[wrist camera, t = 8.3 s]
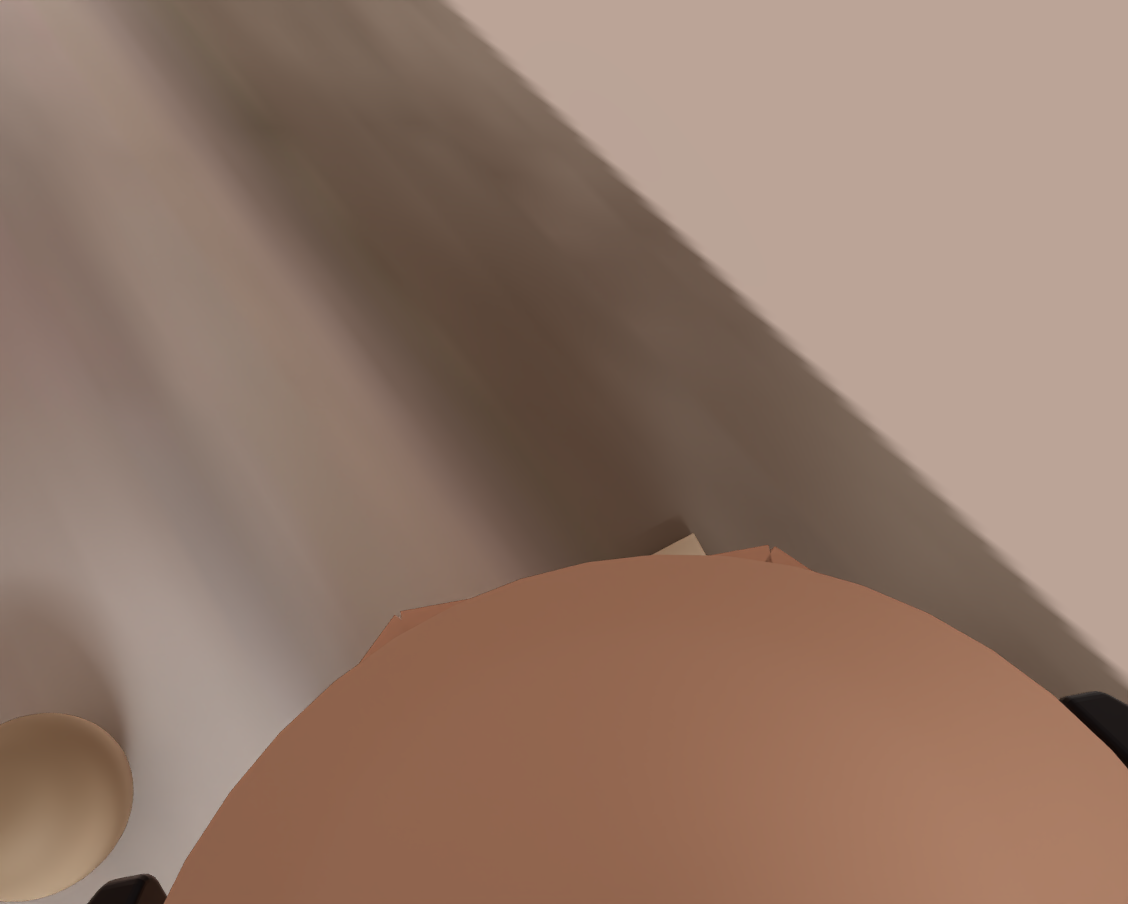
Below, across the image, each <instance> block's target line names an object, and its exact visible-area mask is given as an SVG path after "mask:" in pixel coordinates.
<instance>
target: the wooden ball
mask: <svg viewBox="0 0 1128 904" xmlns="http://www.w3.org/2000/svg"><path fill="white" fill-rule="evenodd" d="M132 802H133V779H132V772H131V769H130V765H129V762H128V760H127V758H126V755H125V753H124V752H123V750H122V749H121V747H120V745H119V744H118V743H117V742H116V741H115V739H114V738H113V737H112V736H111V735H109V734H108V733H107V732H106V731H105V730H104V729H102V728H101V727H99V726H98V725H96V724H94V723H92V722H90V721H88V720H85V719H83V718H80V717H76V716H73V715H68V714H59V713H40V714H34V715H28V716H23V717H19V718H16V719H13V720H10V721H8V722H5V723H3V724H1V725H0V901H5V902H12V901H29V900H35V899H39V898H43V897H46V896H49V895H53V894H55V893H58V892H60V891H62V890H64V889H66V888H68V887H70V886H72V885H74V884H75V883H77V882H79V881H80V880H82V879H83V878H84V877H86V876H87V875H88V874H90V873H91V872H92V871H93V870H94V869H96V868H97V867H98V866H99V865H100V864H101V863H102V862H103V861H104V860H105V859H106V857H107V856H108V855H109V854H110V852H111V851H112V850H113V848H114V847H115V845H116V844H117V842H118V840H119V839H120V837H121V836H122V833H123V831H124V829H125V827H126V825H127V822H128V819H129V816H130V812H131V808H132Z"/></svg>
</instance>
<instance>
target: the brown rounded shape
mask: <svg viewBox="0 0 1128 904" xmlns="http://www.w3.org/2000/svg"><path fill="white" fill-rule="evenodd" d="M400 612H401V617H398V616H396V615H394V616H393V618H392V619H391V621H390V622H389V623H388V625H387V626H386V627H385V629H384V630H383V631H382V633H381V634H380V636H379V637H378V638H377V640H376V641H375V642H374V644H373V645H372V646H371V648H370V649H369V651H368V652H367V653H366V655H365V656H364V657H363V659H362V660H361V661H360V663H359V664H358V665H357V666H355V667H354V668H352V669H351V670H350V671H348V672H347V673H346V674H344V675H343V676H341V677H340V678H339V679H337V680H336V681H335V682H333V683H332V684H331V685H330V686H329V687H328V688H327V689H326V690H325V691H324V692H323V693H322V694H321V695H320V696H319V697H317V698H316V699H315V700H314V701H313V702H312V703H311V704H310V705H309V706H308V707H307V708H306V709H305V710H304V711H303V712H301V713H300V714H299V715H298V716H297V717H296V718H295V719H294V720H293V721H292V722H291V723H290V724H289V725H288V726H286V727H285V728H284V729H283V730H282V731H281V732H280V733H279V734H278V735H277V737H276V738H275V739H274V740H273V741H272V743H271V744H270V745H269V746H268V747H267V749H266V750H265V751H264V752H263V753H262V755H261V756H260V757H259V758H258V759H257V761H256V762H255V763H254V764H253V765H252V767H251V768H250V769H249V770H248V771H247V772H246V774H245V775H244V776H243V777H242V778H241V780H240V781H239V782H238V783H237V784H236V786H235V787H234V788H233V789H232V790H231V792H230V793H229V794H228V796H227V797H226V799H225V801H224V802H223V804H222V805H221V807H220V808H219V810H218V811H217V813H216V814H215V816H214V817H213V819H212V820H211V822H210V823H209V825H208V826H207V828H206V830H205V831H204V833H203V834H202V836H201V837H200V839H199V840H198V842H197V843H196V845H195V846H194V848H193V849H192V851H191V852H190V854H189V855H188V857H187V859H186V860H185V862H184V864H183V866H182V868H181V870H180V872H179V874H178V876H177V878H176V880H175V882H174V884H173V886H172V888H171V890H170V892H169V894H168V896H167V898H166V900H165V902H164V904H1128V769H1127V767H1126V766H1125V765H1124V764H1123V763H1122V761H1121V760H1120V759H1119V758H1118V757H1117V756H1116V754H1115V753H1114V752H1113V751H1112V750H1111V749H1110V748H1109V747H1108V746H1107V745H1106V744H1105V743H1104V742H1103V741H1102V740H1101V739H1099V738H1098V737H1097V736H1096V735H1095V734H1094V733H1093V732H1092V731H1091V730H1090V729H1089V728H1088V727H1087V726H1086V725H1085V724H1083V723H1082V722H1081V721H1080V720H1079V719H1078V718H1077V717H1076V716H1075V715H1074V714H1073V713H1072V712H1071V711H1070V710H1069V709H1067V708H1066V707H1065V706H1064V705H1063V704H1062V703H1061V702H1060V701H1059V700H1058V699H1057V698H1056V697H1055V696H1054V695H1052V694H1051V693H1050V692H1048V691H1047V690H1045V689H1044V688H1043V687H1041V686H1040V685H1039V684H1037V683H1036V682H1035V681H1033V680H1032V679H1031V678H1029V677H1028V676H1027V675H1025V674H1024V673H1023V672H1021V671H1020V670H1019V669H1017V668H1016V667H1014V666H1013V665H1012V664H1010V663H1009V662H1008V661H1006V660H1005V659H1004V658H1002V657H1001V656H1000V655H998V654H997V653H996V652H994V651H993V650H991V649H990V648H988V647H986V646H984V645H983V644H981V643H979V642H977V641H976V640H974V639H972V638H970V637H969V636H967V635H965V634H963V633H962V632H960V631H958V630H956V629H955V628H953V627H951V626H949V625H948V624H946V623H944V622H942V621H941V620H939V619H937V618H935V617H934V616H932V615H930V614H929V613H926V612H924V611H922V610H919V609H917V608H914V607H912V606H910V605H907V604H905V603H903V602H900V601H898V600H896V599H893V598H891V597H888V596H886V595H884V594H881V593H879V592H877V591H874V590H872V589H869V588H867V587H865V586H862V585H859V584H856V583H852V582H849V581H845V580H841V579H838V578H834V577H831V576H827V575H824V574H820V573H817V572H813V571H812V570H810V569H809V568H807V567H806V566H804V565H802V564H801V563H799V562H798V561H796V560H795V559H793V558H792V557H790V556H789V555H787V554H786V553H784V552H783V551H781V550H780V549H778V548H777V547H773V548H772V549H769V545H765V546H759V547H754V548H748V549H743V550H737V551H732V552H726V553H720V554H715V555H647V556H638V557H629V558H620V559H612V560H603V561H594V562H587V563H583V564H578V565H574V566H570V567H566V568H562V569H558V570H554V571H550V572H546V573H542V574H538V575H534V576H530V577H526V578H522V579H519V580H517V581H514V582H511V583H509V584H506V585H504V586H501V587H499V588H496V589H494V590H491V591H489V592H486V593H483V594H481V595H478V596H476V597H473V598H471V599H466V600H460V601H454V602H449V603H443V604H438V605H432V606H427V607H421V608H416V609H410V610H405V611H400Z"/></svg>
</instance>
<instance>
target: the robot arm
mask: <svg viewBox="0 0 1128 904" xmlns="http://www.w3.org/2000/svg"><path fill="white" fill-rule="evenodd" d="M1059 701H1060V702H1061V703H1062V704H1063V705H1064V706H1065V707H1066V708H1067V709H1069V710H1070V711H1071V712H1072V713H1073V714H1074V715H1075V716H1076V717H1077V718H1078V719H1079V720H1080V721H1081V722H1082V723H1083V724H1085V725H1086V726H1087V727H1088V728H1089V729H1090V730H1091V731H1092V732H1093V733H1094V734H1095V735H1096V736H1097V737H1098V738H1099V739H1101V740H1102V741H1103V742H1104V743H1105V744H1106V745H1107V746H1108V747H1109V748H1110V749H1111V750H1112V751H1113V752H1114V753H1115V754H1116V756H1117V757H1118V758H1119V759H1120V760H1121V761H1122V763H1123V764H1124V765H1125V766H1126V767H1127V769H1128V705H1126V704H1125V703H1123V702H1121V701H1119V700H1118V699H1116V698H1114V697H1112V696H1110V695H1108V694H1105V693H1102V692H1098V691H1094V692H1086V693H1081V694H1076V695H1071V696H1065V697H1063V698H1060V700H1059ZM166 898H167V895H166V894H165V892H164V890H163V889H162V887H161V885H160V884H159V882H158V880H157V879H156V878H155V877H154V876H152V875H150V874H140V875H134V876H129V877H124V878H119V879H114V880H112V881H109V882H107V883H106V884H105V885H103V886H102V887H101V888H100V889H99V890H98V891H97V892H96V894H95V895H94V896H93V897H92V898H91V900H90V901H89V902H88V903H87V904H164V902H165V900H166Z"/></svg>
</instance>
